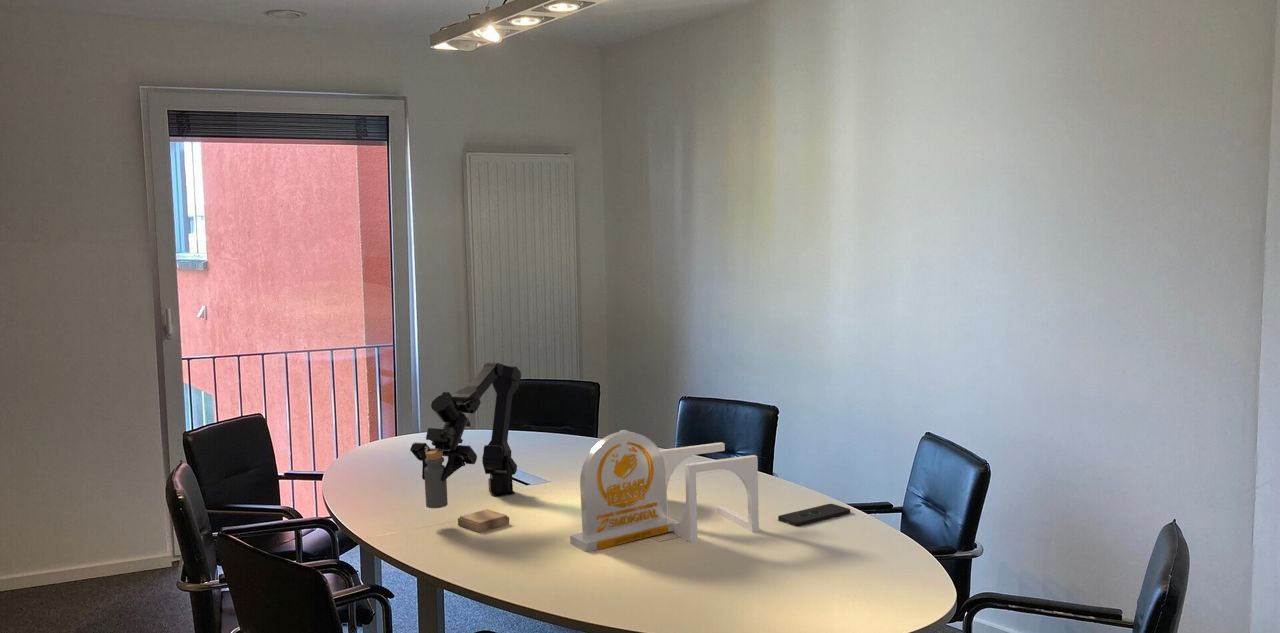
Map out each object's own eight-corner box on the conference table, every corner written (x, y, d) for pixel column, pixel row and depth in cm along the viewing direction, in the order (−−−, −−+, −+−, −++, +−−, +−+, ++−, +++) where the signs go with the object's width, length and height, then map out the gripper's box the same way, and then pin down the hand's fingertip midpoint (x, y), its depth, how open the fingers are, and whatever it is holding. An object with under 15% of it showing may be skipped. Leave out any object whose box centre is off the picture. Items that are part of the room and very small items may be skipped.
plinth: (487, 517, 281) (487, 508, 281) (509, 524, 274) (508, 515, 274) (458, 525, 275) (457, 516, 274) (479, 532, 267) (478, 523, 267)
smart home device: (776, 515, 271) (830, 502, 282) (776, 521, 271) (830, 508, 282) (797, 522, 264) (851, 509, 275) (797, 528, 264) (851, 515, 275)
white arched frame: (658, 522, 272) (656, 450, 270) (722, 512, 280) (721, 442, 278) (690, 542, 254) (688, 465, 252) (758, 531, 262) (757, 456, 260)
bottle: (443, 508, 271) (440, 454, 270) (422, 508, 272) (419, 454, 271) (450, 502, 277) (448, 449, 275) (431, 502, 278) (428, 449, 276)
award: (586, 552, 248) (581, 443, 246) (570, 543, 256) (565, 437, 253) (680, 530, 263) (676, 427, 260) (661, 522, 270) (657, 422, 268)
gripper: (411, 414, 279) (390, 462, 270) (469, 417, 272) (449, 466, 263) (429, 435, 287) (409, 483, 278) (485, 439, 280) (466, 487, 271)
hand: (432, 479), depth 273 cm, fingers closed on bottle, 6 cm apart
